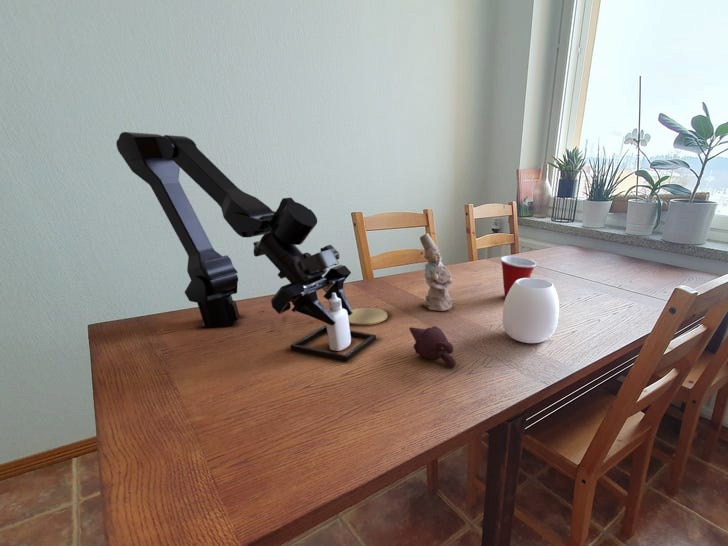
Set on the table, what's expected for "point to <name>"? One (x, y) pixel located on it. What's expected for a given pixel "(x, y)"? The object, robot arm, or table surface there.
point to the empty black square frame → (300, 348)
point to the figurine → (436, 277)
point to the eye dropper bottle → (338, 325)
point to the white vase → (531, 310)
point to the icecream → (433, 344)
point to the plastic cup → (515, 270)
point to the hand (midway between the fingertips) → (342, 319)
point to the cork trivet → (367, 316)
